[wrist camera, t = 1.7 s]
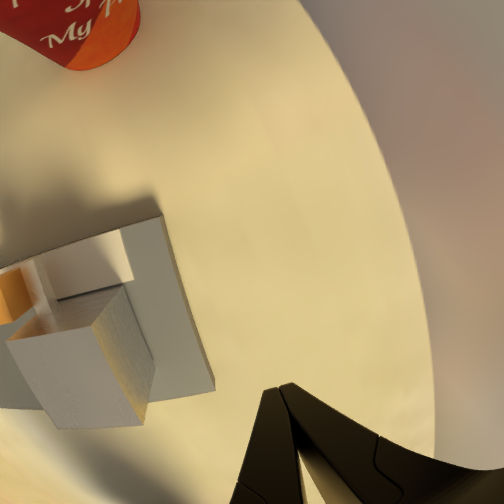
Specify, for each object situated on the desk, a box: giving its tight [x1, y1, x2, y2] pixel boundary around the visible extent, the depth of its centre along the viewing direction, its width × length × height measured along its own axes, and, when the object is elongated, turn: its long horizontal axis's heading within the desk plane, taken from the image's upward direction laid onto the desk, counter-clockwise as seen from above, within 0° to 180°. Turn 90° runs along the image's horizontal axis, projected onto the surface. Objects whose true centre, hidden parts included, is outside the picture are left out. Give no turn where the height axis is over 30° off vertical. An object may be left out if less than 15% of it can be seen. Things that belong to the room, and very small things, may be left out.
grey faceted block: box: [6, 256, 156, 429], centre depth 11 cm, size 7×5×4 cm, turn 12°
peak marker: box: [0, 267, 33, 325], centre depth 10 cm, size 2×2×3 cm
